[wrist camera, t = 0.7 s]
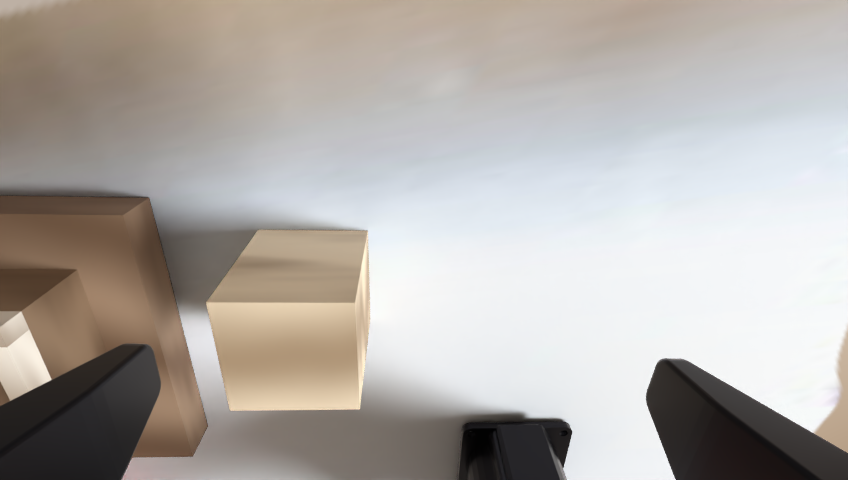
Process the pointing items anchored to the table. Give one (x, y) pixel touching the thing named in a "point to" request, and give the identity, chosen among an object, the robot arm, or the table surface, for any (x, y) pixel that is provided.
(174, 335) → the tower base
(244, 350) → the maple block
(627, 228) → the table surface
